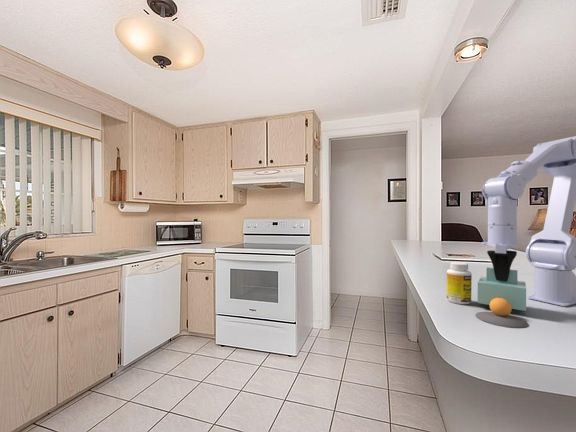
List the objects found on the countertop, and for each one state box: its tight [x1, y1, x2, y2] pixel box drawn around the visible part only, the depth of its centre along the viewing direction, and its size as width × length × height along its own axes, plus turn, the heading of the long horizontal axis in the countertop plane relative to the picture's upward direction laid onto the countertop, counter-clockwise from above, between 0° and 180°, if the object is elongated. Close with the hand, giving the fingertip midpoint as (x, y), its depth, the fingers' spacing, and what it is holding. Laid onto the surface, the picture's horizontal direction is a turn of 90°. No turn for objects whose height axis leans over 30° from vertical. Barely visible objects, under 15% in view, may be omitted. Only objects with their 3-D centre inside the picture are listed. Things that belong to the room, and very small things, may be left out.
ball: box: [489, 298, 513, 316], centre depth 62 cm, size 4×4×4 cm
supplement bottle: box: [446, 261, 473, 305], centre depth 73 cm, size 6×6×10 cm
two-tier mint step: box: [477, 267, 527, 312], centre depth 68 cm, size 9×9×8 cm
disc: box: [475, 311, 529, 329], centre depth 60 cm, size 9×9×1 cm
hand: (501, 280), depth 68 cm, fingers closed on two-tier mint step
